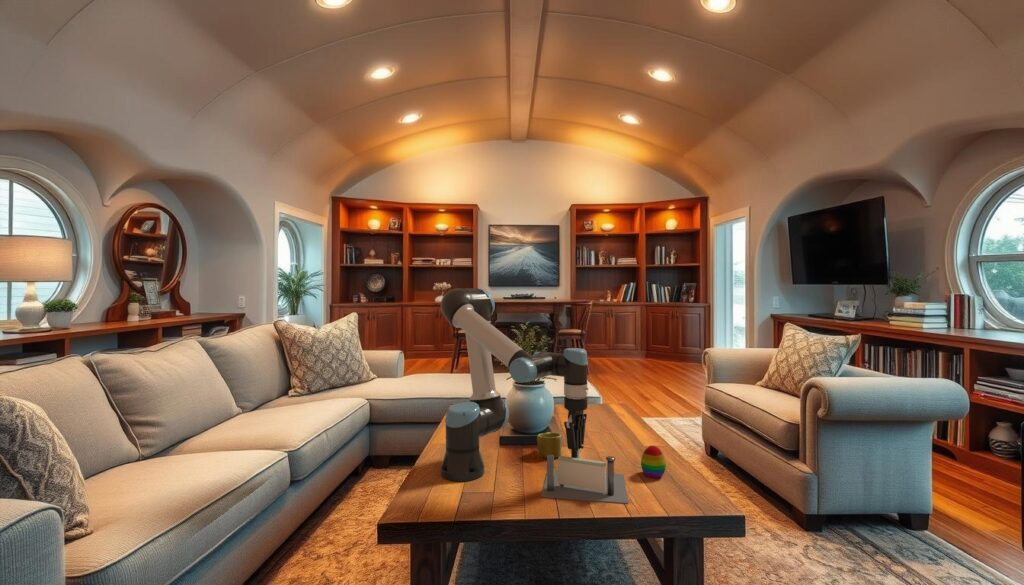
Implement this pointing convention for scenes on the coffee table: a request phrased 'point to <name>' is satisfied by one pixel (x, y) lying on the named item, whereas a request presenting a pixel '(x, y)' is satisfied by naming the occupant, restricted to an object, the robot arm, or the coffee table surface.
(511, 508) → the coffee table surface
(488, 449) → the coffee table surface
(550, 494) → the mat
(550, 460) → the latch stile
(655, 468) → the decorative egg
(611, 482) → the hinge post
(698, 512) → the coffee table surface
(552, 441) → the mug
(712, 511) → the coffee table surface
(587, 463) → the gate
